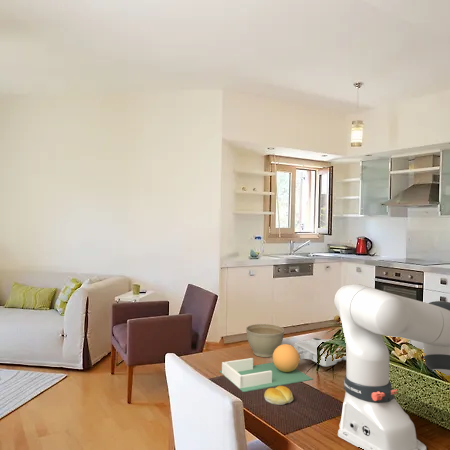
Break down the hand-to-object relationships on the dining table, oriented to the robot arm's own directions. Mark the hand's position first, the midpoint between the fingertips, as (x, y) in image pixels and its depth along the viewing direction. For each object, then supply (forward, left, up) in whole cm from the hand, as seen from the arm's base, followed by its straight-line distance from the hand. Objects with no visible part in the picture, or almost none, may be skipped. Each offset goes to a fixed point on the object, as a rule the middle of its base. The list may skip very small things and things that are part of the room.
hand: (297, 355), depth 157 cm
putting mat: (-1, +15, -5) cm, 16 cm away
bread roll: (-20, +21, -5) cm, 29 cm away
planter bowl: (+20, +3, -5) cm, 21 cm away
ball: (-1, +6, 0) cm, 6 cm away
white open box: (-1, +22, -5) cm, 23 cm away
